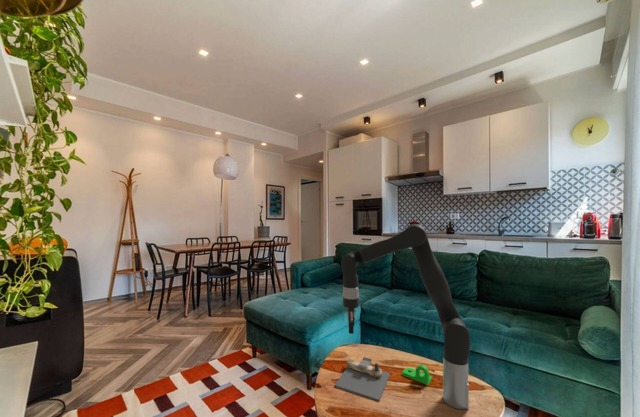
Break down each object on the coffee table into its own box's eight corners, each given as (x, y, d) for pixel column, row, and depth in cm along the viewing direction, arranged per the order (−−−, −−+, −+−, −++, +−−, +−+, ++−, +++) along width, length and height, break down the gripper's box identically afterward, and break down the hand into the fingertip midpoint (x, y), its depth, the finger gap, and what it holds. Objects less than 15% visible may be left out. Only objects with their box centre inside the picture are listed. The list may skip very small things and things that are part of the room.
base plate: (389, 375, 127) (389, 373, 127) (379, 402, 110) (379, 399, 110) (350, 364, 136) (350, 362, 136) (334, 387, 119) (334, 385, 119)
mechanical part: (432, 380, 124) (432, 363, 124) (427, 387, 119) (427, 369, 119) (407, 370, 132) (407, 354, 132) (402, 376, 127) (402, 359, 127)
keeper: (371, 368, 131) (371, 358, 131) (367, 376, 125) (367, 366, 125) (363, 365, 133) (363, 356, 133) (358, 374, 127) (358, 364, 127)
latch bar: (382, 373, 126) (382, 363, 126) (379, 379, 122) (379, 368, 122) (349, 363, 135) (349, 353, 135) (345, 367, 131) (345, 357, 131)
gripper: (360, 300, 118) (360, 339, 118) (357, 291, 131) (357, 326, 131) (343, 300, 118) (343, 339, 118) (342, 291, 132) (342, 326, 132)
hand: (351, 332), depth 125 cm, fingers closed
